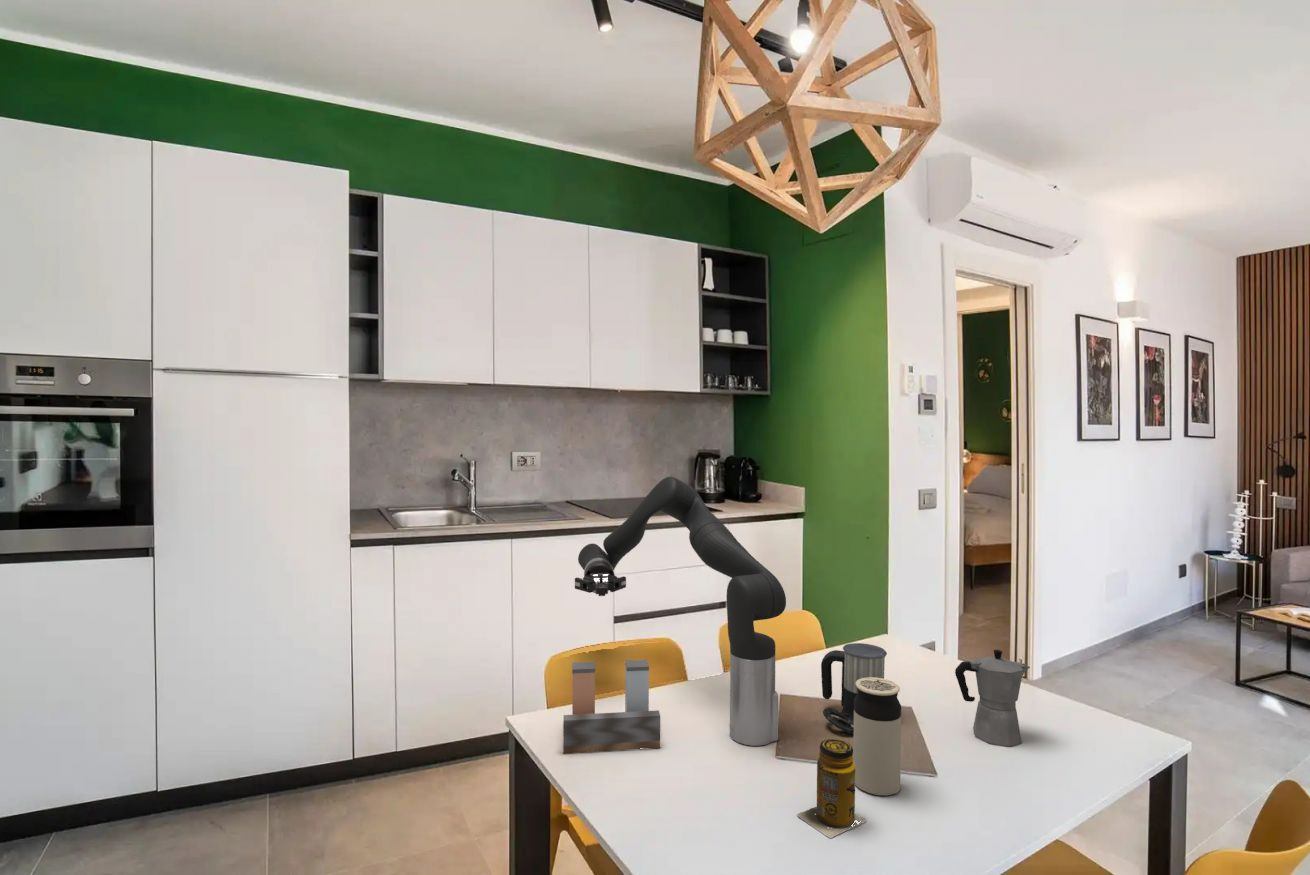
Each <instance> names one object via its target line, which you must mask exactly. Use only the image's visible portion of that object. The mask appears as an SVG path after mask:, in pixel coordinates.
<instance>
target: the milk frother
mask: <svg viewBox="0 0 1310 875" xmlns="http://www.w3.org/2000/svg"><path fill="white" fill-rule="evenodd" d="M887 655H888V653H887V651H886V650H885V649H884V648H882V647H881V646H878V645H876V644H875V645H874V644H869V643H861V642H854V643H847V644H844V645H843V646H842V650H837V649H836V650H835V649H834V650H831V651H829V652H827V653H826V654H825V655H824V657H823V658H822V660H821V664H820V669H821V670H820V672H821V676H820V677H821V690H822V697H823V699H825V700H830V699H831V698H832V696H833V676H832V672H833V671H832V664H833V663H834V662H840V663H841V664H842V666H841V697H840V698H841V702H840V704H841V706H842V708H841V711H840V710H839V711H838V710H836V709H834V708H830V707H824V708H823V710H822V714H823V717H825V719H826V720H827V721H828V722H829V723H830V724H832V725H833V726H834V727H836V728H837V729H839V730H840V731H842V732H843V733H844V734H846V733H849V734H854V699H855V697H856V695H857V694H858V689H857V687H856V681H857V680H859V679H861V678H867V677H875V678H883V679H885V659H886V656H887Z"/></svg>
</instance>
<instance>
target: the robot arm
mask: <svg viewBox="0 0 1310 875" xmlns="http://www.w3.org/2000/svg"><path fill="white" fill-rule="evenodd" d="M658 512H663V513H664V514H665V515H668V516H670V517H672V518H674V519H675V520H677V521H678V522H680V523H681V524H682V525H683V526H685V527H686V528H687V530H689V533H688V534H689V535H688V536H689V537H688V538H689V544H690V545H691V547H692V549H693V550H694V552H695V553H696V554H697V556H698V557H699V559H700V560H701V561H702V562H703V563H704V564H705V565H706V566H708V567H709V568H710V569H712V570H714V571H716V572H718V573H720V574H723V575H725V576H726V577H729V578H730V580H729V582H728V585H727V588H726V614H727V635H728V641H729V649H730V650H729V657H730V659H729V736H730V738H731V739H732V740H733V741H735V742H737V743H739V744H741V745H746V746H754V747H755V746H756V747H757V746H765V745H768V744H771V743H772V742H778V741H779V693H778V692H777V691H776V641H775V640H774V639H773V638H772V637H771V636H769V635H767V634H764V633H760V632H757V631H755V625H754V624H755V623H754V622H756V621H762V620H764V621H765V620H770V619H774V618H777V617H778V616H781V615H782V614H783V612H784V611H785V609H786V606H787V599H786V598H787V596H786V593H785V590H784V587H783V586H782V584H781V582H780V581H779V579H778V578H777V577H776V576H775V575H774V574H773V572H771V571H770V570H769V569H768V568H767V567H765V566H764V565H763V564H762V563H761V562H759V561H758V560H757V559H756V558H755V557H754V556H752V554H750V553H749V551H748V550H747V549H746V548H745V547H744V546H743V545H742V544H741V543H740V542H739V541H738V539H737V538H736V537H735V536H734V534H733V533H732V532H731V531H730V530H729V529H728V528H727V526H726V525H725V524H724V523H723V522H722V521H721V520H720V519H719V518H718V517H717V516H716V515H715V514H714V513H713V512H711V511H710V510H709V507H707V505H706V503H705V502H704V501H703V498H702V497H701V496H700V494H699V493H698V491H697V490H696V489H695V488H693V487H692V486H691V485H689V484H687V483H685V482H684V481H682V480H680V479H678V478H676V477H673V476H666V477H663V479H661V480H660V481H659V482H658V483H657V484H656V485H655V486H654V487H653V488H652V489H651V490H650V491H649V492H648V494H647V495H646V496H645V497H644V498H643V500H641V502H640V503H639V504H638V505H637V507H636V509H635V510H633V512H632V513H631V514H630V515H629V516H628V518H627V519H625V521H624V522H623V523H621V524H620V525H619V526H618V527H617V528H616V529H615V530H613V531H612V532H611V533H610V534H608V535H607V536H606V537H605V539H604V540H603V542H602V543H603V544H602V545H603V549H602V548H601V547H600V546H599V545H598V544H596V543H588V544H586V545H585V546H583V548H581V550H580V552H579V554H578V558H577V561H578V564H579V566H580V567H581V568H582V570H583V577H582V578H581V577H574V589H575V590H578V591H581V592H582V591H583V592H585V593H590V594H591V593H593V594H595V595H598V597H606V595H608V594H609V592H610V593H615V592H617V591H620V590H623V589H625V588H627V577H626V576H620V577H618V576H617V575H615V572H614V570H615V569H616V568H617V566H618V564H619V563H620V561H621V560H622V559H623V558H624V557H625V556H626V555H628V554H629V553H630V552H631V551H632V550H634V549H635V548H636V547H637V546H638V545H639V544H640V542H641V541H642V539H643V538H644V535H645V532H646V527H647V525H648V523H649V520H650V518H652V517H653V516H654V515H655V514H657V513H658ZM777 740H778V741H777Z"/></svg>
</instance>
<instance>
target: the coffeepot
mask: <svg viewBox="0 0 1310 875" xmlns="http://www.w3.org/2000/svg"><path fill="white" fill-rule="evenodd" d="M993 655H994V657H991V656H981V657H976V658H973V660H968V661H961V662H960V663H959V664H958V665H957V667H956V668H955V669H954V670H955V671H954V674H955V675H954V676H955V677H956V680H957V683H958V686H959V689H960V693H961V696H962V699H963V700H964V701H965V702H970V703H971V702H975V699H976V697H975V696H970V694H969V687H968V685H967V682H966V675H965V673H966V671H967V672H968V671H969V672H973V673H974V672H975V678H976V686H977V691H978V693H977V694H978V695H979V700H978V701H977V707H976V711H975V717H974V722H973V726H972V729H973V734H974V737H975V738H977V739H979V741H982V742H985V743H987V744H989V745H993V746H999V747H1009V748H1010V747H1016V746H1018V745H1020V744H1022V736H1021V731H1020V730H1021V729H1020V725H1019V718H1018V717H1019V716H1018V710H1017V708H1016V702H1018V700H1019V694H1020V691H1021V690H1020V689H1021V684H1022V680H1023V679H1022V678H1023V676H1024V674H1025V673H1026V672H1027V670H1028V669H1030V668H1031V667H1030V666H1029V665H1027V664H1026V663H1022V662H1019V661H1018V662H1017V661H1012V660H1009V659H1006V658H1002V655H1003V651H1002V650H1000V649H993Z"/></svg>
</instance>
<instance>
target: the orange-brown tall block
mask: <svg viewBox="0 0 1310 875" xmlns="http://www.w3.org/2000/svg"><path fill="white" fill-rule="evenodd" d="M571 666H572V667H571V668H572V670H571V674H572V683H571V684H572V689H571V690H572V693H571V694H572V696H571V697H572V698H571V699H572V701H571V702H572V708H571V709H572V714H571V715H576V714H596V664H595V661H575V662H571Z"/></svg>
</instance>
